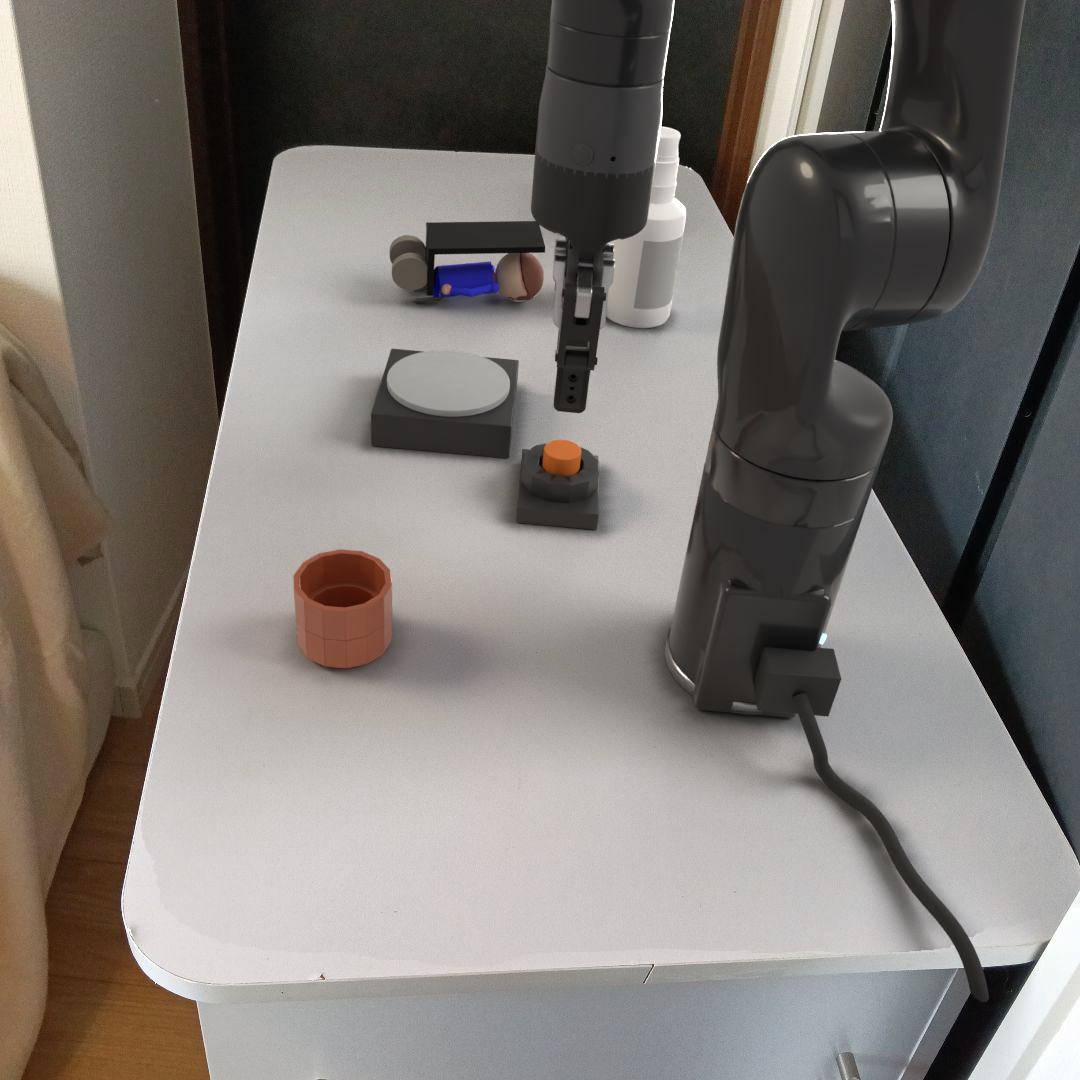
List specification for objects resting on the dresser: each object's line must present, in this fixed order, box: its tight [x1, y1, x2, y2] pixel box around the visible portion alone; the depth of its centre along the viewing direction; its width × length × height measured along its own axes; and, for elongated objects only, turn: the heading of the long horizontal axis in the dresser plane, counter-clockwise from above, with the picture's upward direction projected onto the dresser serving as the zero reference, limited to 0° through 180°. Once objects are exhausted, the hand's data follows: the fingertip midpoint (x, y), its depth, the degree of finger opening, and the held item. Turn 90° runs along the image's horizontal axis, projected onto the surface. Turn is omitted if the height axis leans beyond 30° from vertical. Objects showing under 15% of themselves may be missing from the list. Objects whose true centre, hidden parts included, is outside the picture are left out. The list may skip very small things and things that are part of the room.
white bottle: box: [606, 125, 687, 329], centre depth 104 cm, size 7×7×18 cm
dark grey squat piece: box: [515, 442, 600, 531], centre depth 82 cm, size 8×6×3 cm
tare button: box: [542, 439, 582, 476], centre depth 81 cm, size 3×3×2 cm
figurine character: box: [389, 220, 546, 304], centre depth 107 cm, size 7×8×15 cm
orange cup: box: [292, 548, 393, 669], centre depth 67 cm, size 6×6×5 cm
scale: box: [370, 348, 520, 459], centre depth 90 cm, size 11×11×4 cm
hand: (569, 384), depth 77 cm, fingers open, 6 cm apart
